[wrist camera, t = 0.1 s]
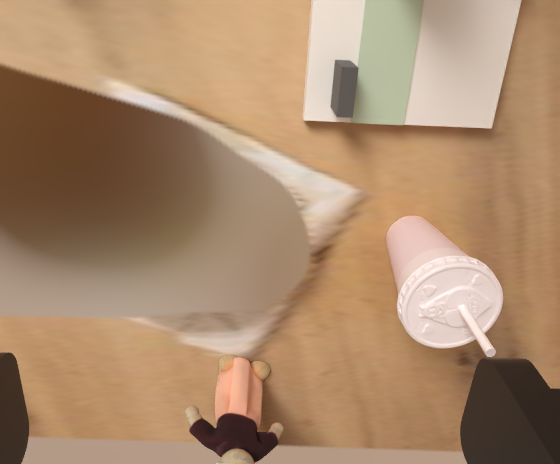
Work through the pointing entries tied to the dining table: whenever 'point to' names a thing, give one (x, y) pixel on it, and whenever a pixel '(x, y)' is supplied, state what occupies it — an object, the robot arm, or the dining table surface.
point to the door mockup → (407, 61)
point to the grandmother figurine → (236, 414)
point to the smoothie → (441, 287)
